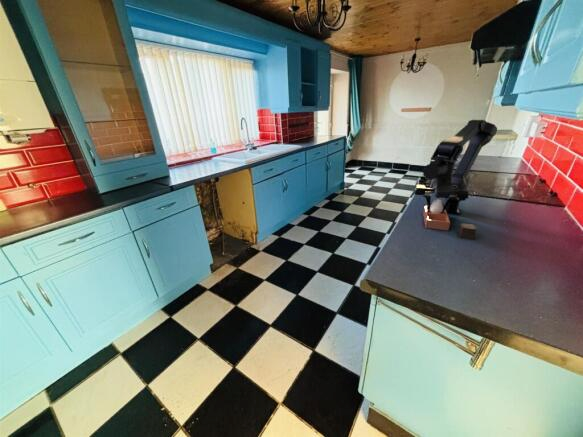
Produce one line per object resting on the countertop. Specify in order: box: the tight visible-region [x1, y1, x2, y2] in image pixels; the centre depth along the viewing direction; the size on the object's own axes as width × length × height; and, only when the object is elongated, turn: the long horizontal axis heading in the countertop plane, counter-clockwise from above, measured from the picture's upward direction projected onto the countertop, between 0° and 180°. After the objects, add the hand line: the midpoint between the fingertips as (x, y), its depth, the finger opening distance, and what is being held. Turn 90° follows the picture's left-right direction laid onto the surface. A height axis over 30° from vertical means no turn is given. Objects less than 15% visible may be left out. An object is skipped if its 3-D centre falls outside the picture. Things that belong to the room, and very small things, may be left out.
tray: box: [422, 205, 451, 231], centre depth 97 cm, size 8×15×4 cm, turn 156°
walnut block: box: [458, 222, 477, 240], centre depth 85 cm, size 4×4×4 cm
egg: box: [430, 198, 444, 214], centre depth 99 cm, size 5×5×7 cm
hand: (435, 210), depth 100 cm, fingers closed on egg, 5 cm apart
